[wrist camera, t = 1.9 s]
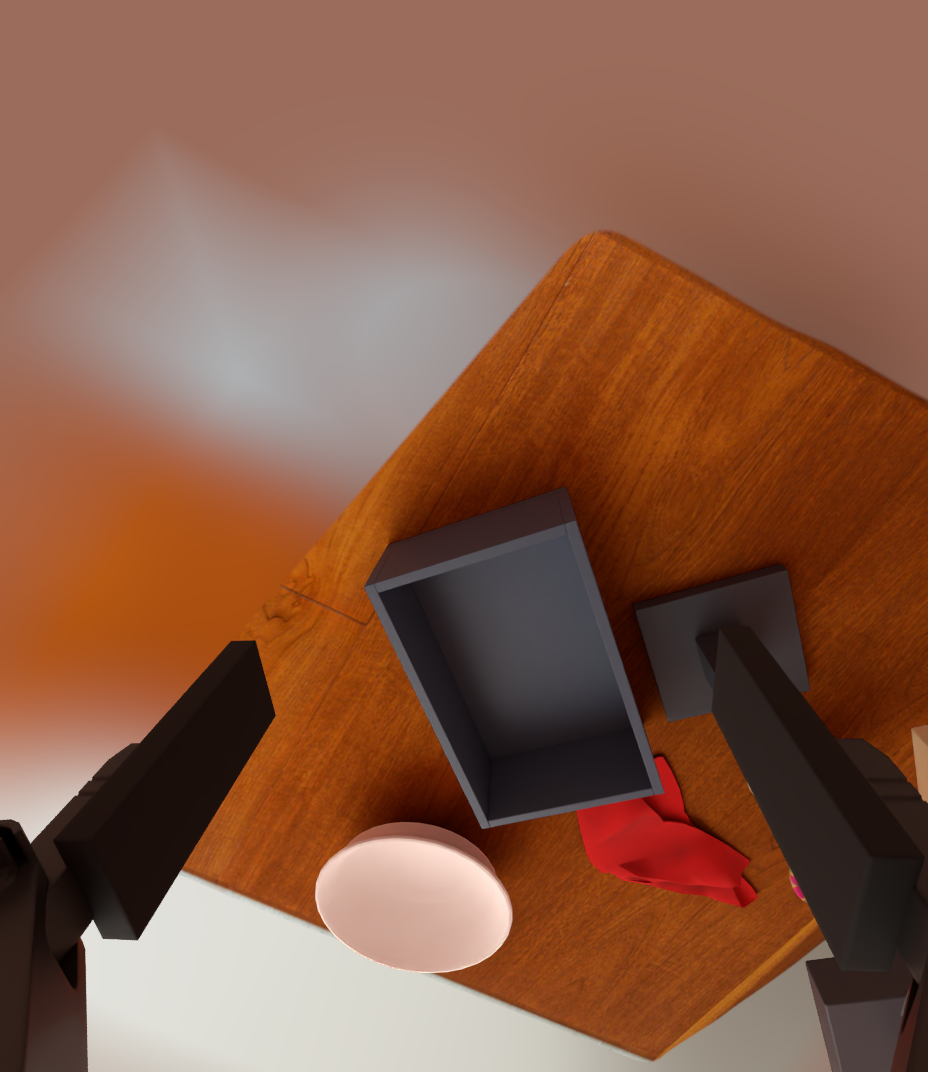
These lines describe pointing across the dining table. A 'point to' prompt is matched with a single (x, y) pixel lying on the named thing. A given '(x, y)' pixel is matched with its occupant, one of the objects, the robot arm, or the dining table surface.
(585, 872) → the dining table surface
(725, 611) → the stand
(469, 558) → the bin
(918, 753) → the mallet
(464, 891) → the bowl
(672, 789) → the cloth
